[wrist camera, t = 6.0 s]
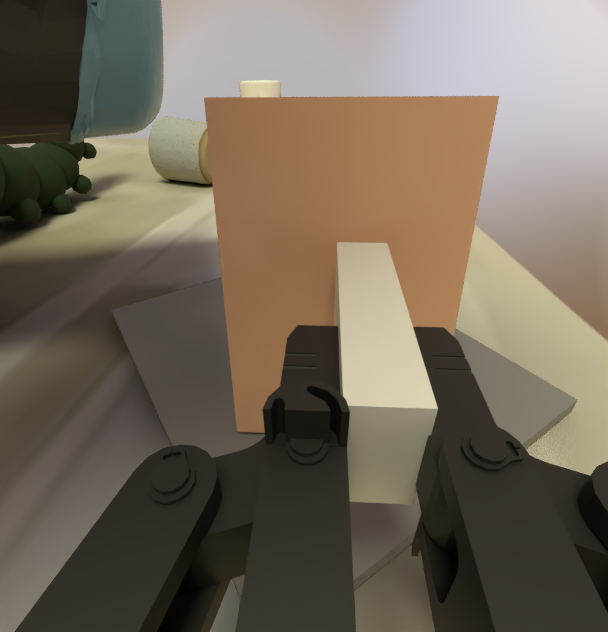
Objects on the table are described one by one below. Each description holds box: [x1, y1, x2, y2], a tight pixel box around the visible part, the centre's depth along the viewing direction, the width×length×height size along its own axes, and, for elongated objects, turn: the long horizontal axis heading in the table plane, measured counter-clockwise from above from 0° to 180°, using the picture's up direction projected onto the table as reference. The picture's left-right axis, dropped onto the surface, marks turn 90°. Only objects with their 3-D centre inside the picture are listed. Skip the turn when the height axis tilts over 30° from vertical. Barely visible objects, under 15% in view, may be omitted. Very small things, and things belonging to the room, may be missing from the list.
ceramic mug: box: [149, 116, 213, 184], centre depth 51 cm, size 11×8×8 cm
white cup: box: [239, 80, 281, 97], centre depth 76 cm, size 8×8×10 cm
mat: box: [111, 278, 577, 597], centre depth 21 cm, size 20×16×1 cm
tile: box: [204, 96, 499, 433], centre depth 14 cm, size 2×8×12 cm, turn 87°
